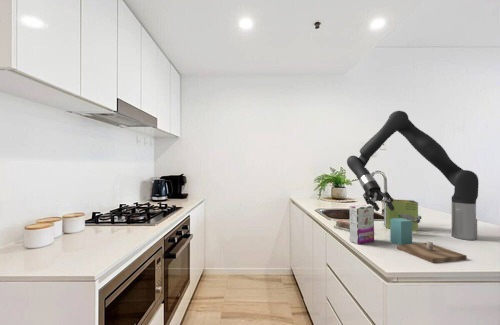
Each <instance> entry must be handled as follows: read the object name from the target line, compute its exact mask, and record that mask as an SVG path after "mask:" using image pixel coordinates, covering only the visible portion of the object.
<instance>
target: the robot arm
mask: <svg viewBox="0 0 500 325" xmlns="http://www.w3.org/2000/svg"><path fill="white" fill-rule="evenodd" d="M396 132H398V133H399V134H401V135H402V136H403V137H404V138H405V139H406V140H407V142H408V143H409V144H410V146H412V147H413V149H415V150H416V152H417V153H419V154H420V156H422V157H423V158H424V159H425V160H426V161H428V162H429V163H430V164H431V165H432V166H434V167H435V168H437V170H439V171H440V173H441V174H442V176H444V177H445V178H446V180H447V181H448V182H449V183H450V184H451V185H452V187H453V186H454V191H453V194H452V196H451V237H453V238H456V239H460V240H465V241H466V240H467V241H474V240H477V239H478V219H477V199H478V197H479V177H478V175H477V174H476V173H475V172H474V171H472V170H466V169H463V168H461V167H460V166H459V165H457V164H456V162H454V161H453V160H452V159H451V158H450V156H449V155H448V154H447V151H446V150H445V148H444V147H443V146H442V145H441V144H440V143H439V142H438V141H436V140H435V139H434V137H432V136H430V135H429V134H428V133H426V132H424V131H423V130H421V129H419V128H418V127H417V126H416V125H415V124H414V123H413V122H412V121H411V120H410V119H409V115H408V114H407V112H406V111H403V110H395V111H393V112H392V113H391V114H390V115H389V117H388V118H387V120H386V122H385V123H384V124H383V126H382V127H380V129H379V130H378V131H377V132H376V133H375V134H374V135H373V136H372V137H371V138H370V139H368V140H367V141H366V143H364V145H363V146H362V147H361V148H360V149H359V153H360V155H359V157H358V155H357V156H356V155H350V156H348V158H347V160H346V164H347V166H348V168H349V169H350V171H351V172H353V174H354V175H355V176H356V178H357V180H358V182H359V184H360V186H361V187H362V189H363V191H364V193H363V194H362V197H363V199H364V201H365V203H366V205H371V206H374V211H375V212H378V211H379V210H380V207H379V205H378V204H377V202H381V203H383V204H384V203H386V204H387V206H388V207H389V209H390V210H391V211H393V210H394V206H393V204H392V202H393V201H394V200H393V199H394V198H393V197H392V196H391V194H390V193H389V192H388V191H385V192H383V191H382V189H381V186H380V185H379V183H378V182H377V180H376V178H375V177H374V176H373V175H372V174H371V173H370V171H369V169H367V167H366V166H367V164H368V163H369V161H370V160H371V158H372V157H373V155H374V154H375V153H376V152H377V151H379V149H380V148H381V147H382V146H383V145H384V143H385V142H386V141H387V140H388V139H389V138H390V137H391V136H393V135H394V134H395V133H396ZM389 199H390V200H389ZM385 200H387V201H388V202H387V201H385Z"/></svg>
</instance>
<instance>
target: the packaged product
mask: <svg viewBox="0 0 500 325" xmlns="http://www.w3.org/2000/svg"><path fill="white" fill-rule="evenodd" d="M335 223H336V224H335V225H334V226H333V228H334V229H335V230H336V229H337V230H341V231H343V230H344V232H347V231H348V233H350V220H347V219H337V220H336V222H335Z"/></svg>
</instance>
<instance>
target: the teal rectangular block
mask: <svg viewBox="0 0 500 325" xmlns="http://www.w3.org/2000/svg"><path fill="white" fill-rule="evenodd" d="M389 230H390V232H389V233H390V237H389V238H390V239H389V240H390V242H391V243H393V244H396V245H405V244H413V231H412V221H411V220H407V219H403V218H394V219H391V223H390V229H389Z"/></svg>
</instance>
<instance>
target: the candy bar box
mask: <svg viewBox="0 0 500 325" xmlns="http://www.w3.org/2000/svg"><path fill="white" fill-rule="evenodd" d="M349 221H350V232H349V242H350V243H353V244H357V245H363V244H367V243H372V242H375V209H374V206H372V205H371V204H359V205H352V206H351V205H350V206H349Z"/></svg>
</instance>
